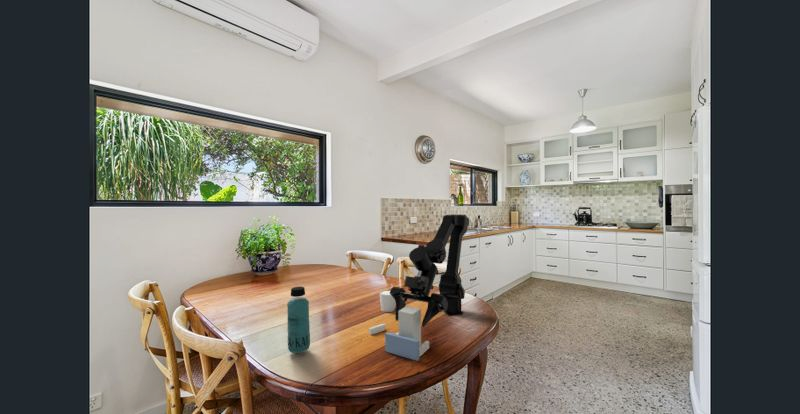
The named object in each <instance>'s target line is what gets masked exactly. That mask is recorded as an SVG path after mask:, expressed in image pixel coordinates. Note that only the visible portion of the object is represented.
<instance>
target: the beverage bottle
mask: <svg viewBox="0 0 800 414" xmlns="http://www.w3.org/2000/svg"><path fill="white" fill-rule="evenodd" d="M305 295H306V289H305V287H304V286H294V287H291V288H290V296H291V297H292V298H290V299H289V300H288V302H287V303H286V306H287V309H286V310H287V330H286V331H287V336H286V337H287V349H288V351H289V352H290V353H293V354H300V353H304V352H306V351H308V350H309V349H310V345H311V332H310V306H309V305H310V302H309V300H308V298H306V297H304V296H305Z"/></svg>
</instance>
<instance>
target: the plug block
mask: <svg viewBox="0 0 800 414" xmlns="http://www.w3.org/2000/svg"><path fill="white" fill-rule="evenodd" d="M398 316H399V320H398V332H399V336H403V337H407V338H414V339H417V340H419V347H420V346H421V345H422V308H419V307H414V306H409V305H406V306H405V307H404V308H403V309H401V310H399V311H398Z"/></svg>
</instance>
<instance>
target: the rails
mask: <svg viewBox="0 0 800 414" xmlns="http://www.w3.org/2000/svg"><path fill="white" fill-rule="evenodd" d="M385 330H386V324H385V323H381V324H377V325H374V326H371V327H369V328H368V334H369V335H370V336H372V335H375V334H377V333H378V334H379V333H380V332H383V331H385ZM394 333H395V332H394ZM395 334H396V335H399V331H398V332H396V333H395Z"/></svg>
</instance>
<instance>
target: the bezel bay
mask: <svg viewBox="0 0 800 414" xmlns="http://www.w3.org/2000/svg"><path fill="white" fill-rule="evenodd" d="M384 345H385V346H384V347H385V352H386V353H389V354H393V355H396V356H399V357H403V358H406V359H409V360H412V361H417V362H418V361H419V360H420V357H421V356H423V355H424V353H426V352H427V351H428V350H429V349H430V341H428V340H425V341H424V342H423V343H421V346H420V347H419V340H417V339H414V338H407V337H403V336H399V335H396V334H395V332H385V333H384Z"/></svg>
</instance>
